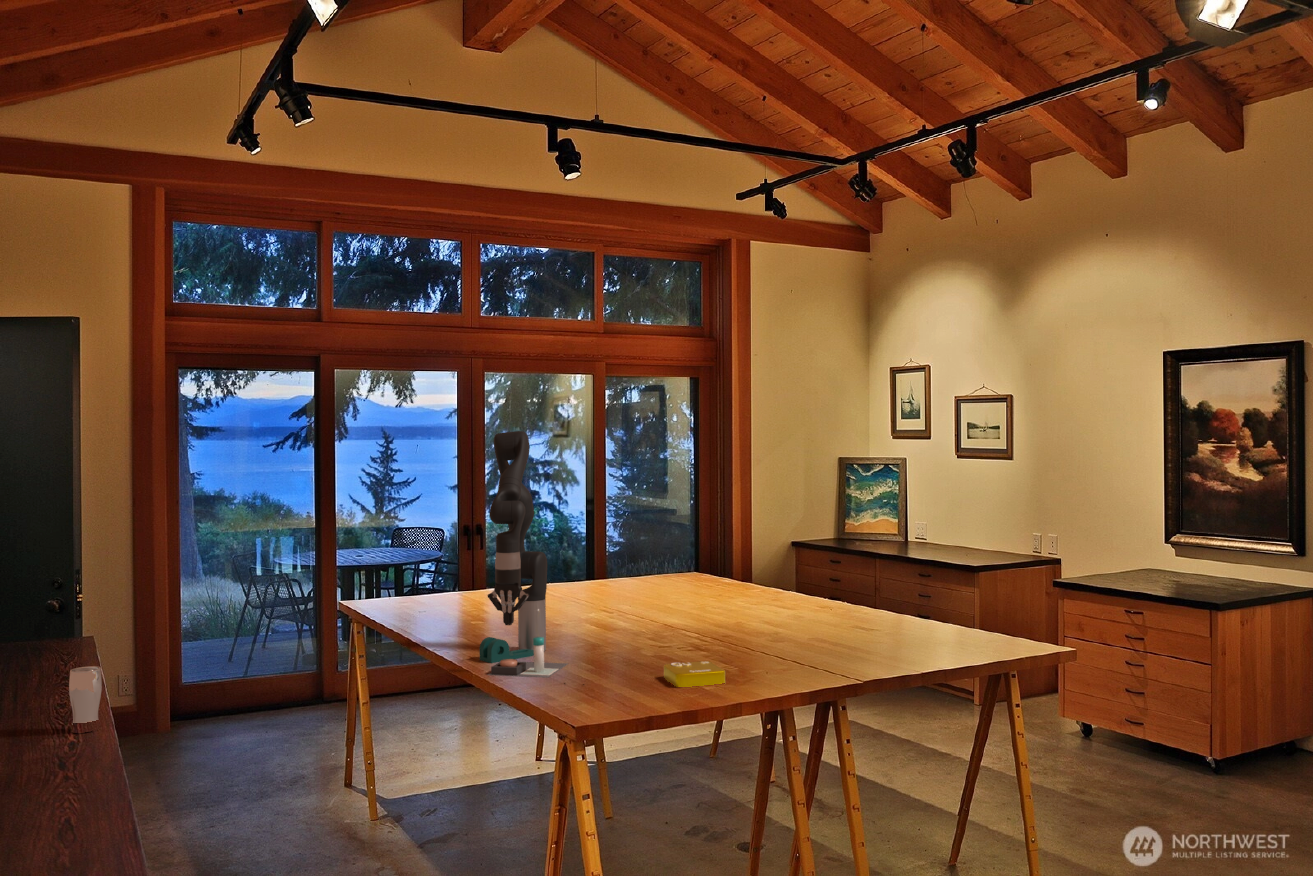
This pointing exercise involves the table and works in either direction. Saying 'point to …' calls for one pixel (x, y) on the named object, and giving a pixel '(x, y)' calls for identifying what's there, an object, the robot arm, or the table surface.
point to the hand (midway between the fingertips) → (508, 624)
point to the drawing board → (526, 670)
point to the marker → (538, 654)
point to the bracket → (500, 651)
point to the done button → (508, 663)
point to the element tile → (694, 674)
